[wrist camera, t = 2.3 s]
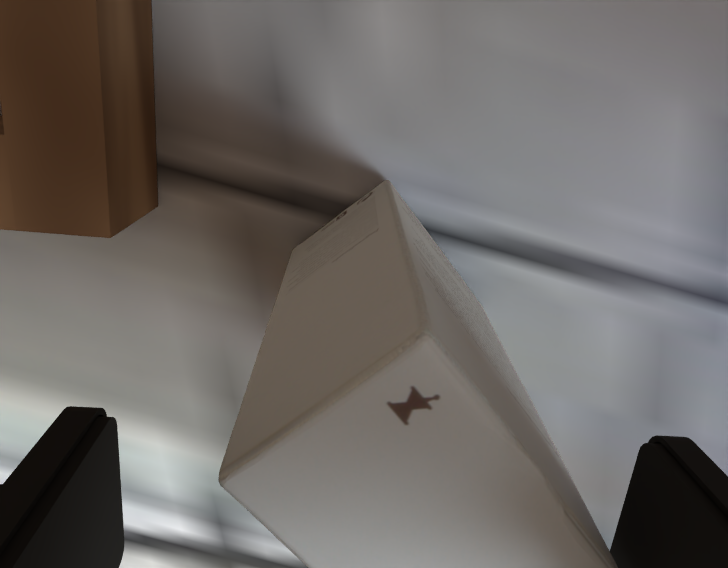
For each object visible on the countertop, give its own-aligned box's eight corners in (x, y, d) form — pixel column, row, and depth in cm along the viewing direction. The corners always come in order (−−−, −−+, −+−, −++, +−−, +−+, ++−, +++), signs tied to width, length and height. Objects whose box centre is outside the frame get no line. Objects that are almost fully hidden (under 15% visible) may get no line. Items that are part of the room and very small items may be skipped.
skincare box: (287, 250, 20) (200, 476, 9) (387, 174, 19) (432, 319, 8) (391, 373, 22) (429, 698, 10) (487, 310, 21) (640, 586, 10)
